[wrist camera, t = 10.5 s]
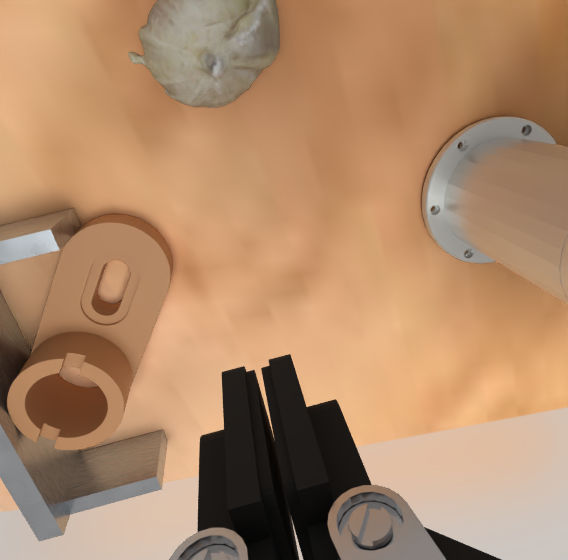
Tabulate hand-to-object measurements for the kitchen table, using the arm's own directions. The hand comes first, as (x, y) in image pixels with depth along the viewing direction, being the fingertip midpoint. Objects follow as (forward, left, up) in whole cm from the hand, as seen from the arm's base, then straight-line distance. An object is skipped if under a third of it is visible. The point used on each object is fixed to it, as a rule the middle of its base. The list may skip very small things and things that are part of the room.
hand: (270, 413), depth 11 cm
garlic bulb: (-1, -10, -29) cm, 31 cm away
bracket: (+13, +8, -30) cm, 33 cm away
